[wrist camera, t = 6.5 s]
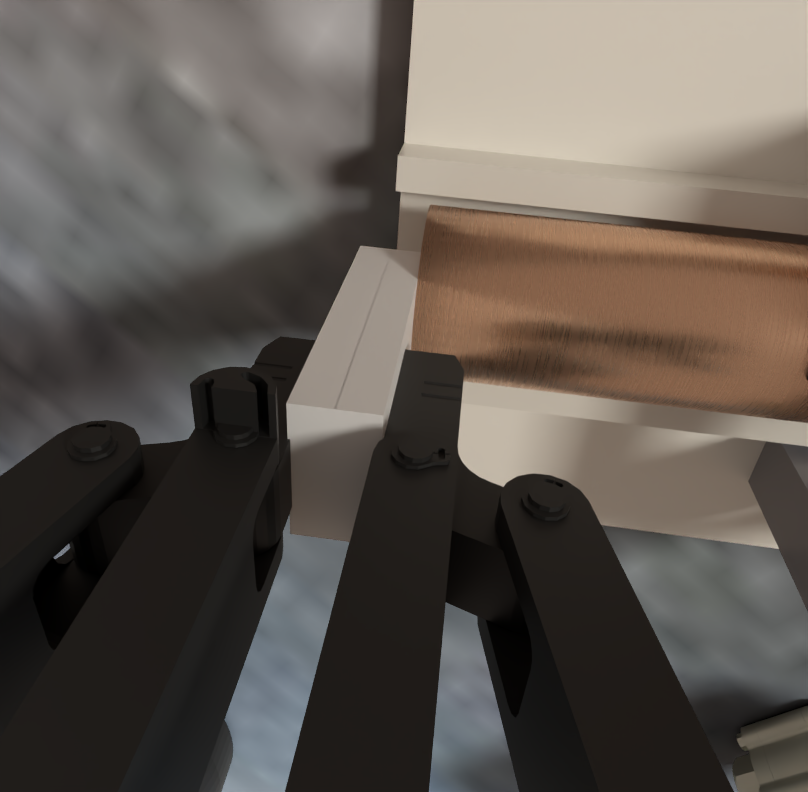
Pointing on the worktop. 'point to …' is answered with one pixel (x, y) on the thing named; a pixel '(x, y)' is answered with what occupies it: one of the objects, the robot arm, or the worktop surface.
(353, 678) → the robot arm
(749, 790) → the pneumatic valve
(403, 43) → the worktop surface
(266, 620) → the worktop surface
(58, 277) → the worktop surface
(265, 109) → the worktop surface
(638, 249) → the tube
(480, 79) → the board
